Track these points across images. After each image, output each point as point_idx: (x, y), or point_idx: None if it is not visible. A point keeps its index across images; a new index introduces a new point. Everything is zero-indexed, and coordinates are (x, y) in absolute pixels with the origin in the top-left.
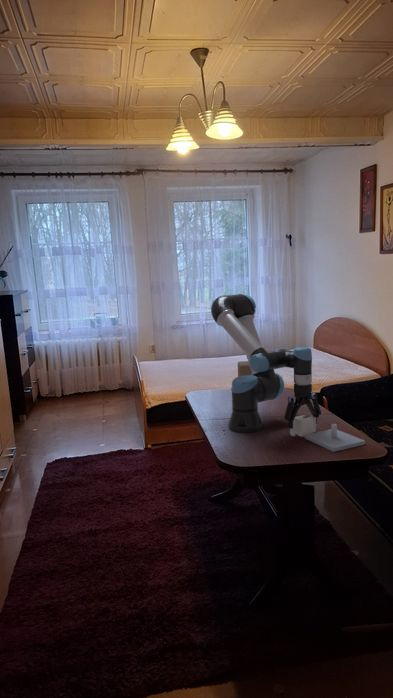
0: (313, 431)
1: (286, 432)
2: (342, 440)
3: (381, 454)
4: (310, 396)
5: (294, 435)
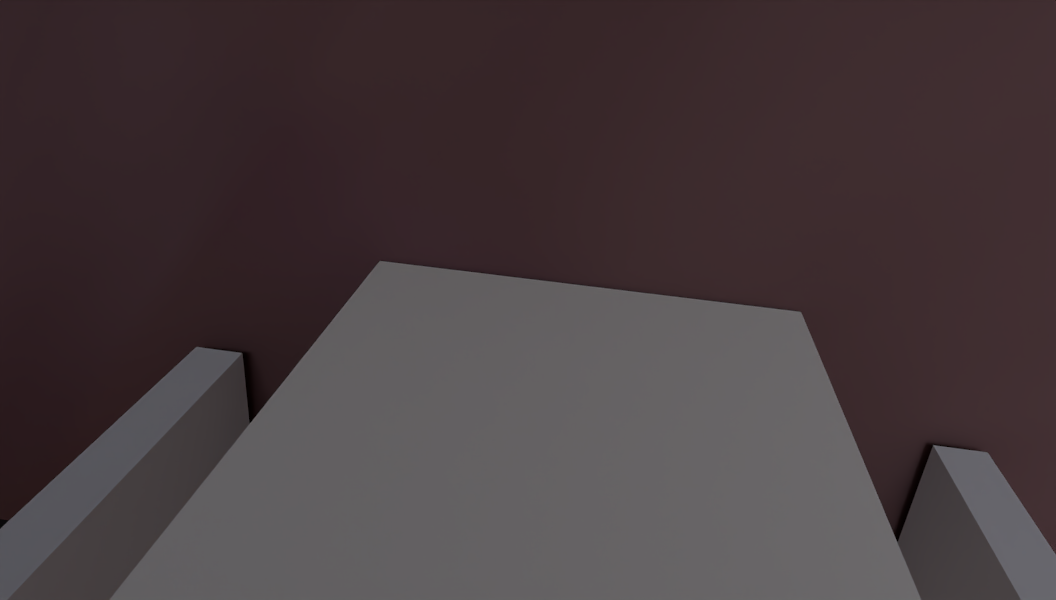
0: None
1: (230, 114)
2: None
3: None
4: None
5: None
